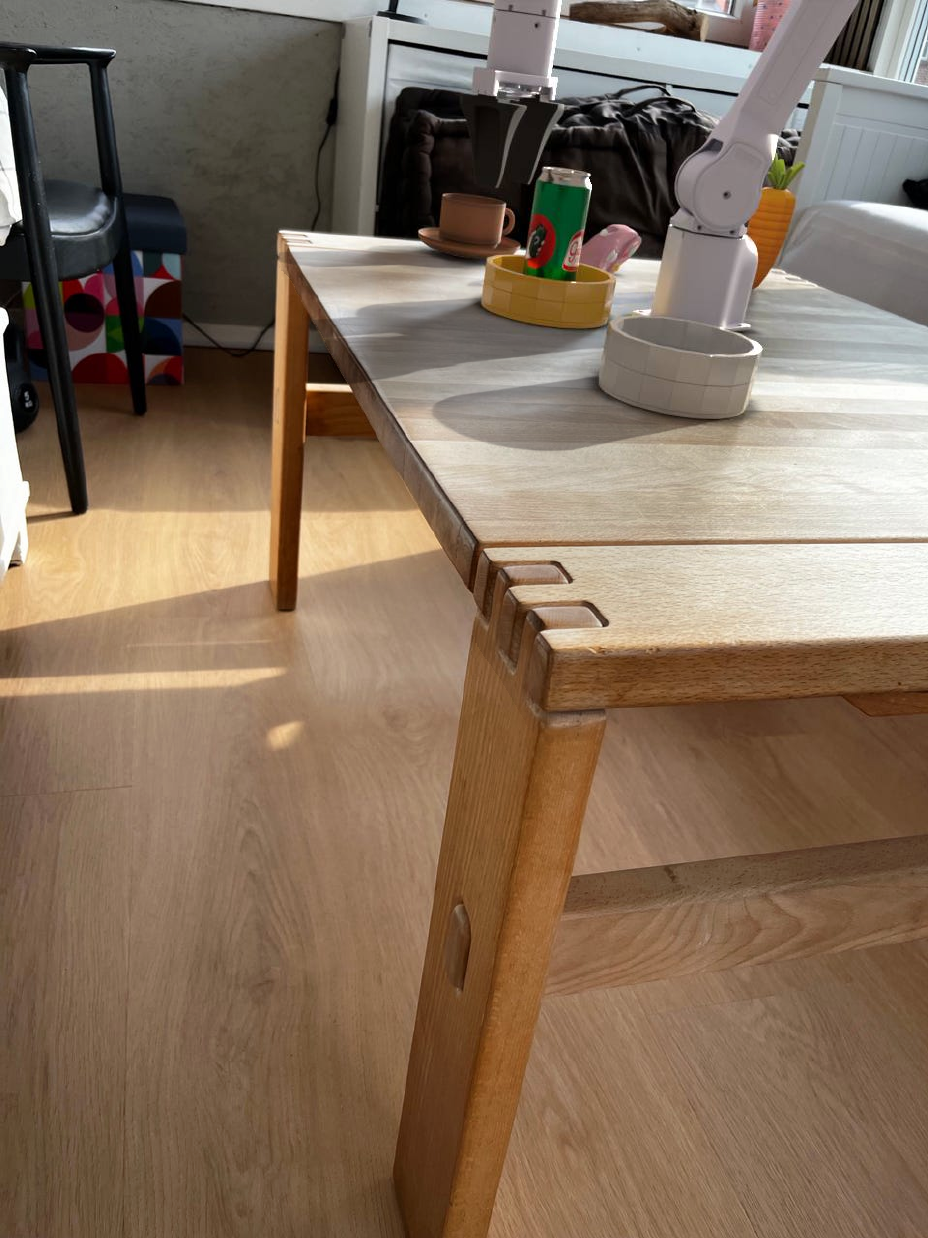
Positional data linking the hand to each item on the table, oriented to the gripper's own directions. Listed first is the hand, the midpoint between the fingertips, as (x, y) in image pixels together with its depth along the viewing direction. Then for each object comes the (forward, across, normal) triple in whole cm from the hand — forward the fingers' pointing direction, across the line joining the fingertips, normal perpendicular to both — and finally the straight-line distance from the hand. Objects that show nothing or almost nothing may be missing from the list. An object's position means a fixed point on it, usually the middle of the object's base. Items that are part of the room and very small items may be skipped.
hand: (503, 184), depth 95 cm
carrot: (+11, -37, +19) cm, 43 cm away
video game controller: (+11, -25, +3) cm, 27 cm away
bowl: (+10, 0, +6) cm, 12 cm away
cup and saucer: (+11, -20, -12) cm, 26 cm away
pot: (+10, +18, +24) cm, 31 cm away
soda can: (+10, 0, +6) cm, 12 cm away
